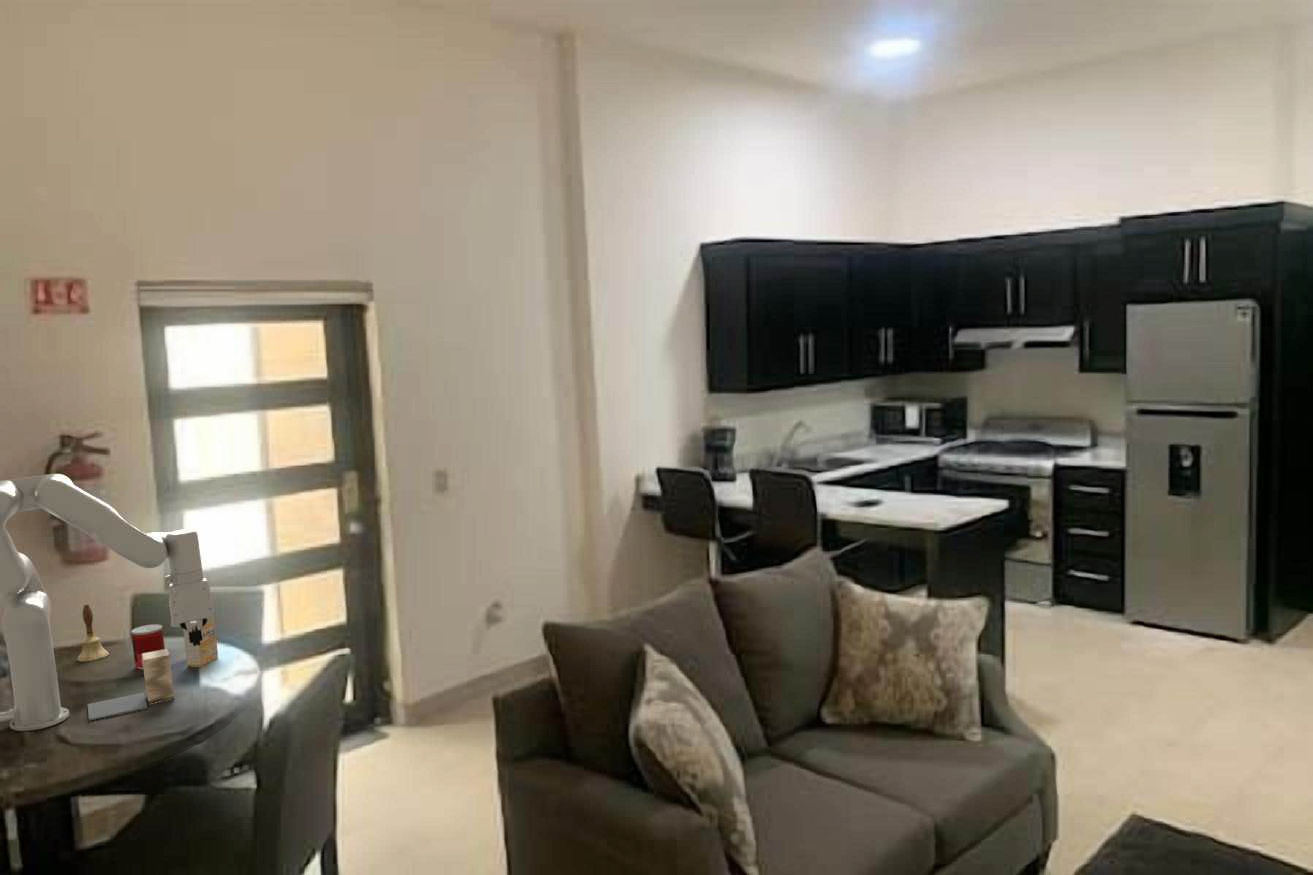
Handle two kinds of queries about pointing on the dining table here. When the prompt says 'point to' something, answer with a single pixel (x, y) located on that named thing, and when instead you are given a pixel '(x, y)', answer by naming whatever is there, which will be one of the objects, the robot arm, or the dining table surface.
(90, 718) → the mat
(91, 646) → the hand bell
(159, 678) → the maple block
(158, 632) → the canned food
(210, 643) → the supplement box
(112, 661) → the dining table surface
